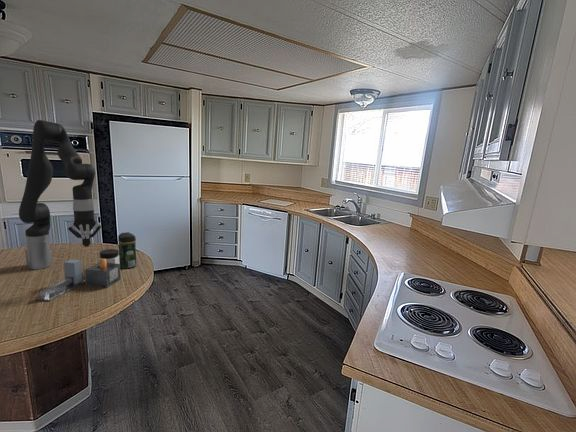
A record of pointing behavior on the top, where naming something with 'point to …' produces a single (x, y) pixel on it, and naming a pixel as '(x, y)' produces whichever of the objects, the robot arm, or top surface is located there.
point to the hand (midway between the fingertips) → (86, 246)
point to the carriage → (73, 270)
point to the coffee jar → (127, 250)
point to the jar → (110, 256)
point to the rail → (58, 289)
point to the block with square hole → (102, 275)
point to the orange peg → (103, 263)
